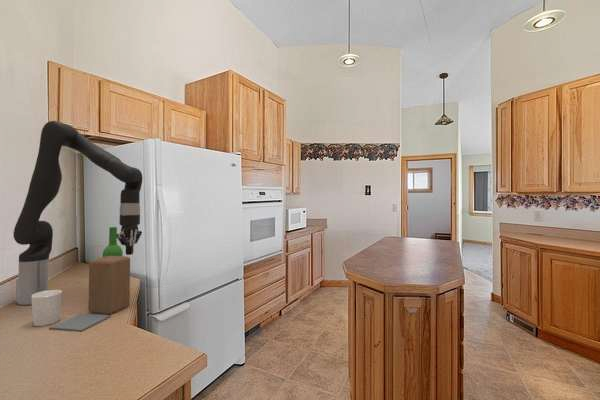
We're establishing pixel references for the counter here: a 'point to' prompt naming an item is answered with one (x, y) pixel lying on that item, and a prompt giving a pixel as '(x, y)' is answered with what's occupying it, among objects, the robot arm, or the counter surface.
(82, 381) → the counter surface
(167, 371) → the counter surface
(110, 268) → the wooden block
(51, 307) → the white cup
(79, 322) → the slate rubber mat
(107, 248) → the wine bottle
